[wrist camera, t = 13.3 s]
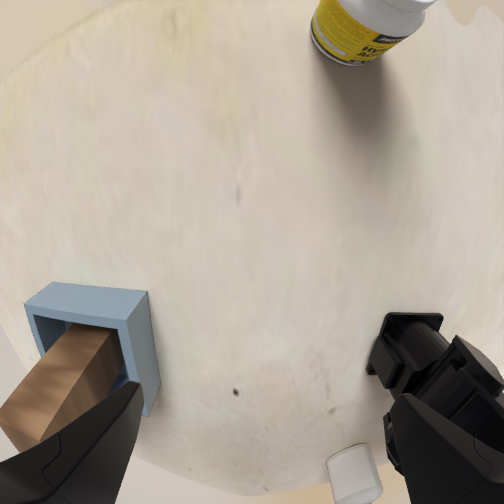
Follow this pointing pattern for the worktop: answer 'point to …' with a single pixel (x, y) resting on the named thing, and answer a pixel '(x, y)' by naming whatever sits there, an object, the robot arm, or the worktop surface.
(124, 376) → the holder
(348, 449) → the eye dropper bottle
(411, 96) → the worktop surface
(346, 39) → the supplement bottle
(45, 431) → the upright wooden block
